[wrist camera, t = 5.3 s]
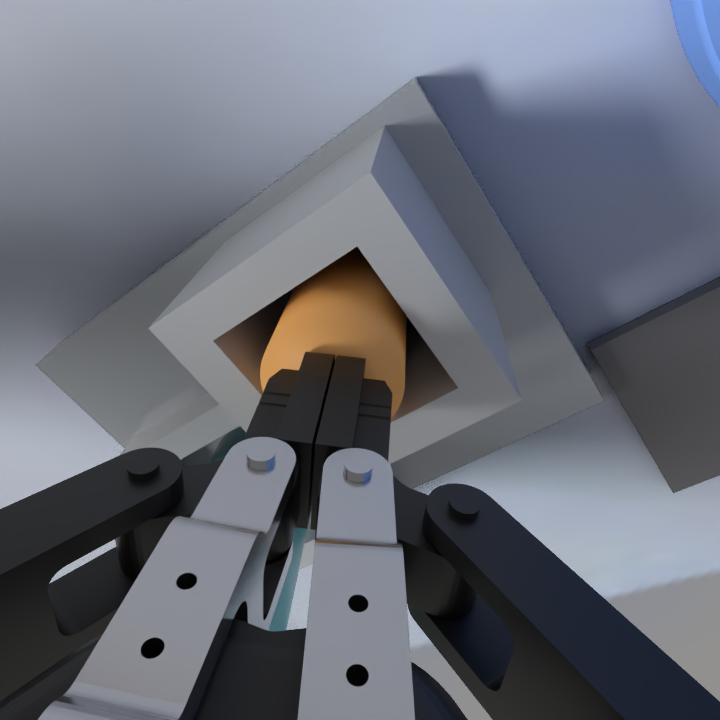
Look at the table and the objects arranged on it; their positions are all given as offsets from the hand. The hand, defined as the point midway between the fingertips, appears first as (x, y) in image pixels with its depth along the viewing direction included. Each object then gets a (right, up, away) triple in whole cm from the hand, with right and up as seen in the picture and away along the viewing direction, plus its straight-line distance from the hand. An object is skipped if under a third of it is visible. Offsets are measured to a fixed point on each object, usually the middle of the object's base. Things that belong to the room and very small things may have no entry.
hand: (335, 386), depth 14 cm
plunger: (0, +3, +4) cm, 5 cm away
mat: (+16, 0, +10) cm, 19 cm away
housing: (-1, +1, +11) cm, 11 cm away
